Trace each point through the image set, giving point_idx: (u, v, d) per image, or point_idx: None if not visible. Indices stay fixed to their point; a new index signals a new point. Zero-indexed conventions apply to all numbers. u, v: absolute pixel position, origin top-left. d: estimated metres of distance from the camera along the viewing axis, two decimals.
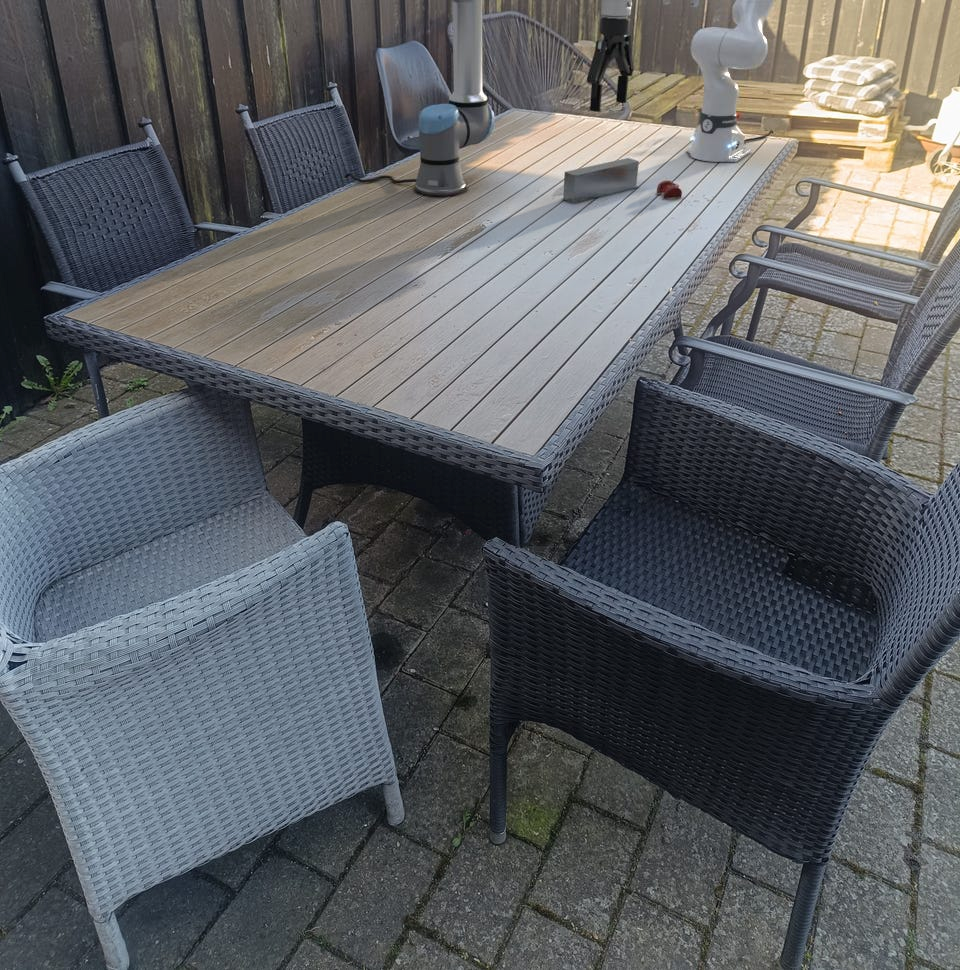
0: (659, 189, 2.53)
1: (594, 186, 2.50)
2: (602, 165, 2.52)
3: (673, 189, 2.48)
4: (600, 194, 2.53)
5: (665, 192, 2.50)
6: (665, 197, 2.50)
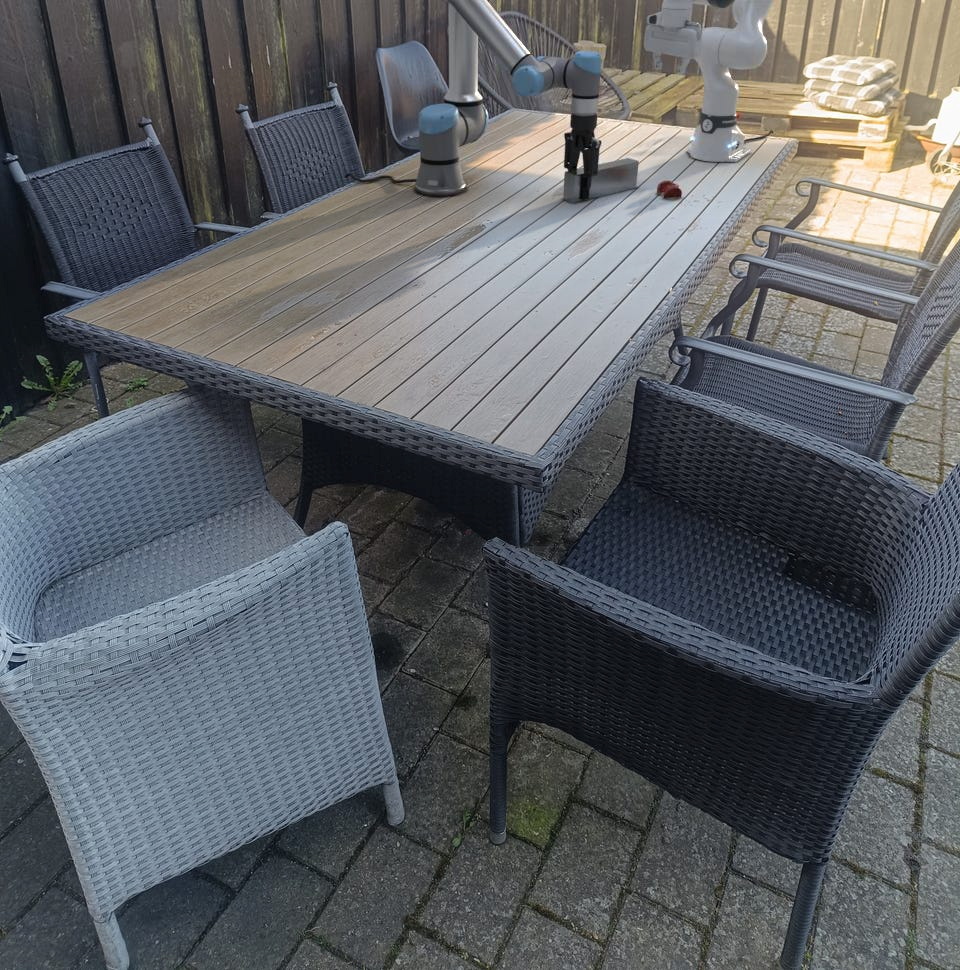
0: (659, 189, 2.53)
1: (594, 186, 2.50)
2: (602, 165, 2.52)
3: (673, 189, 2.48)
4: (600, 194, 2.53)
5: (665, 192, 2.50)
6: (665, 197, 2.50)
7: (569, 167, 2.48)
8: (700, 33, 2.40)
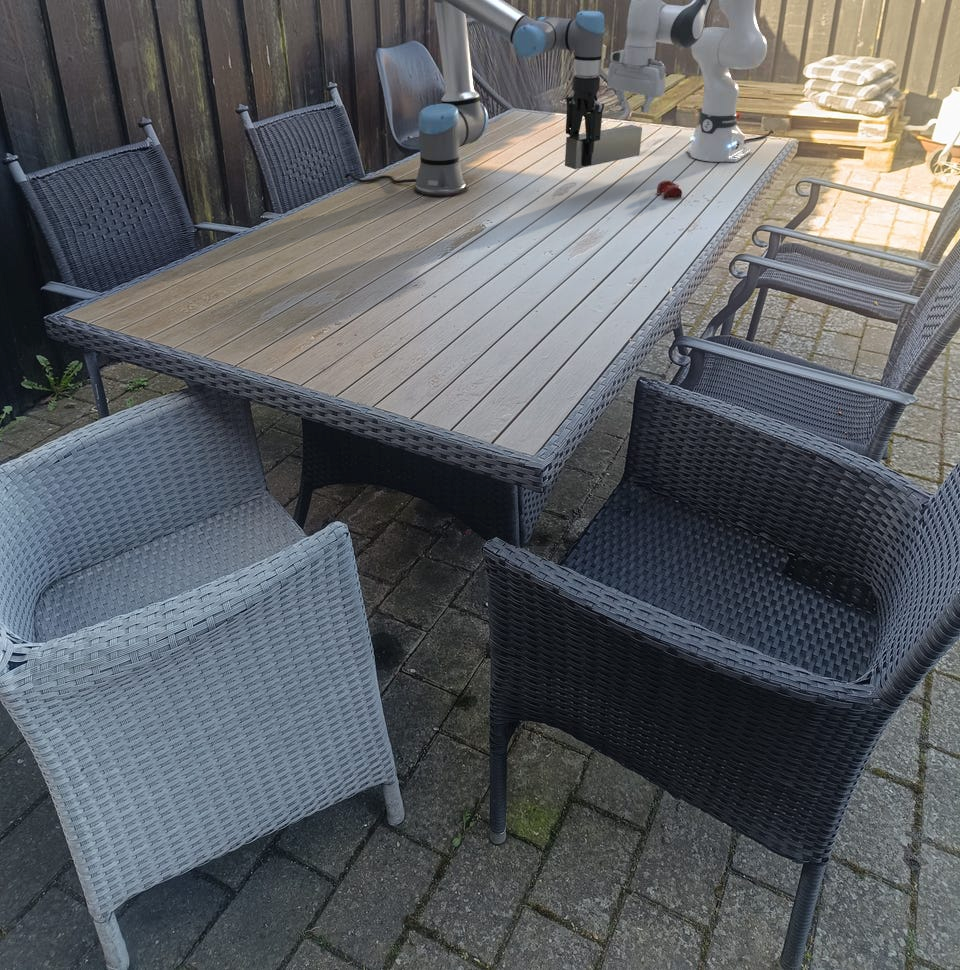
0: (659, 189, 2.53)
1: (596, 152, 2.44)
2: (604, 131, 2.46)
3: (673, 189, 2.48)
4: (602, 161, 2.47)
5: (665, 192, 2.50)
6: (665, 197, 2.50)
7: (571, 132, 2.42)
8: (663, 72, 2.35)
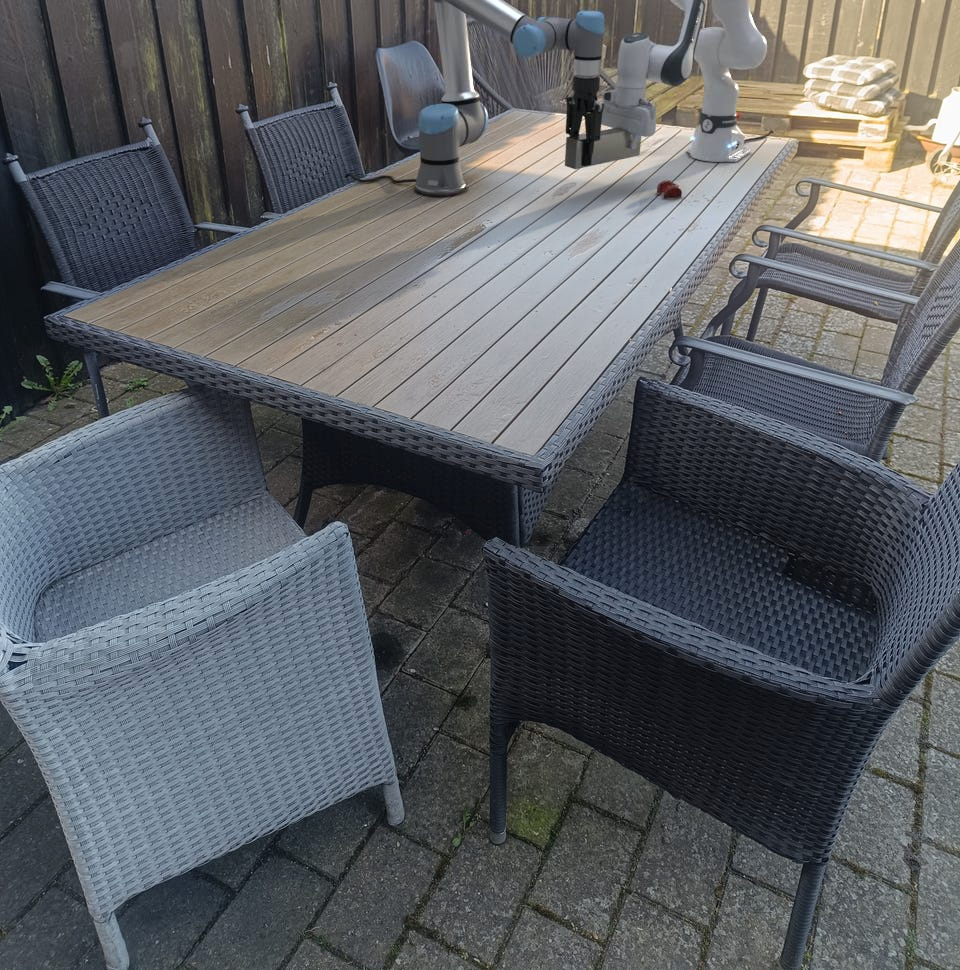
0: (659, 189, 2.53)
1: (596, 153, 2.44)
2: (604, 131, 2.46)
3: (673, 189, 2.48)
4: (603, 161, 2.47)
5: (665, 192, 2.50)
6: (665, 197, 2.50)
7: (571, 132, 2.42)
8: (653, 112, 2.39)
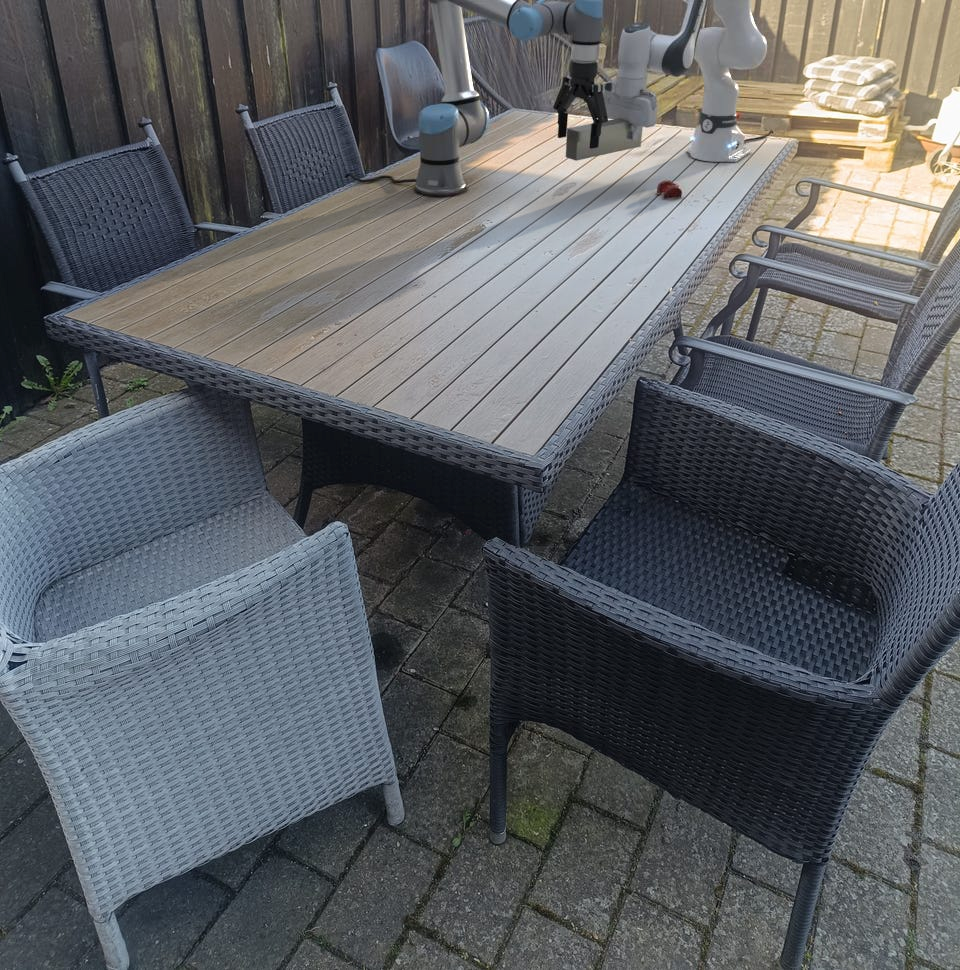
0: (659, 189, 2.53)
1: None
2: (605, 122, 2.45)
3: (673, 189, 2.48)
4: (604, 152, 2.46)
5: (665, 192, 2.50)
6: (665, 197, 2.50)
7: (559, 109, 2.41)
8: (654, 103, 2.38)
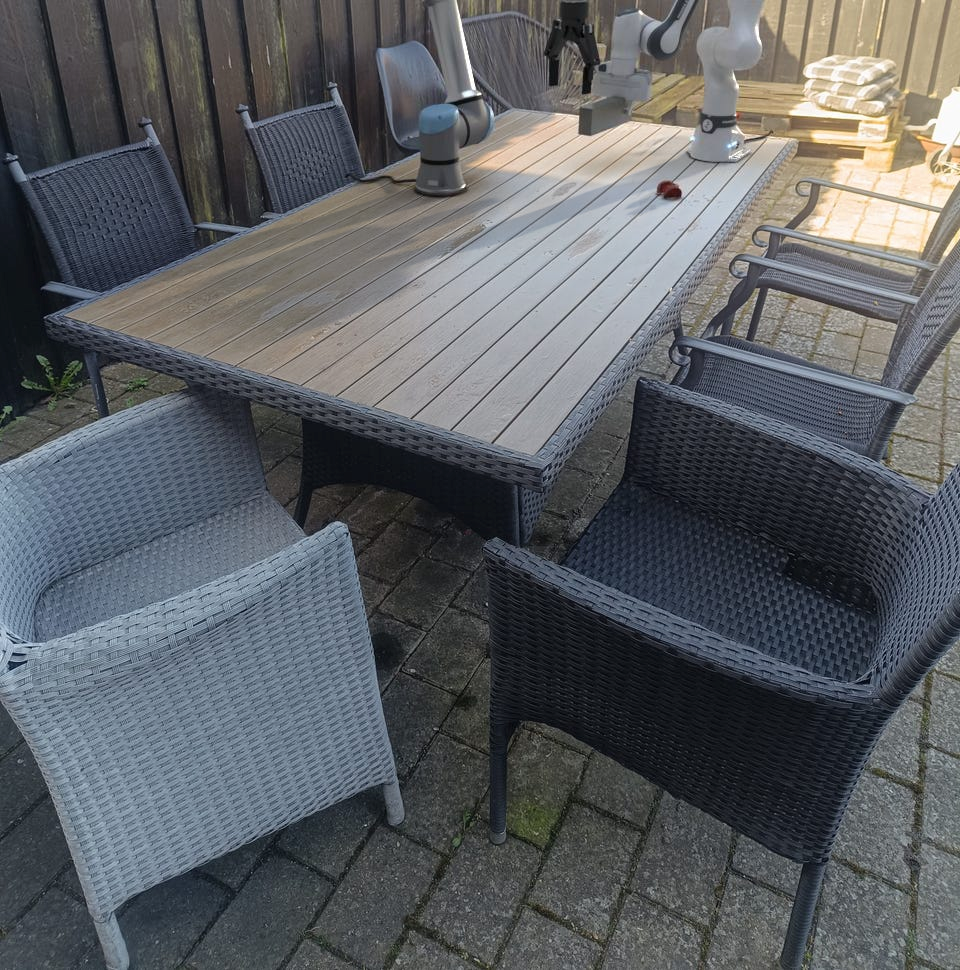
0: (659, 189, 2.53)
1: (604, 120, 2.66)
2: (606, 100, 2.68)
3: (673, 189, 2.48)
4: (608, 127, 2.70)
5: (665, 192, 2.50)
6: (665, 197, 2.50)
7: (550, 55, 2.30)
8: (651, 79, 2.65)
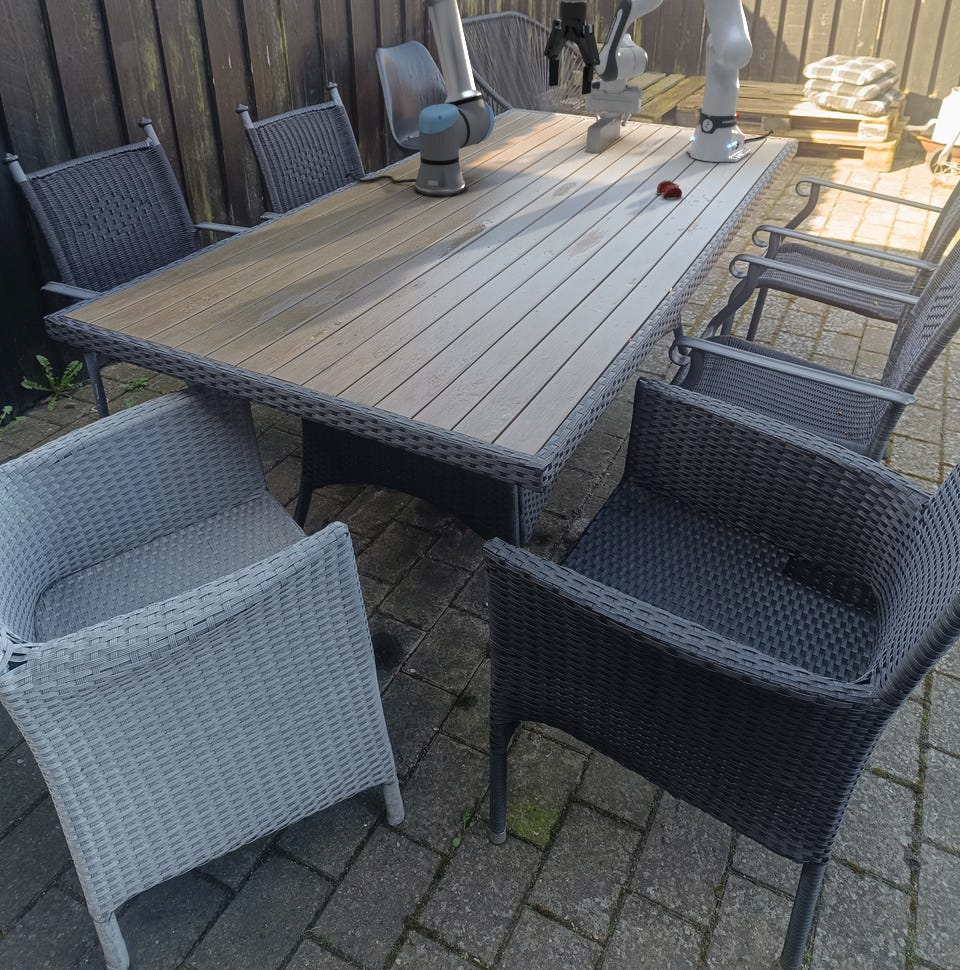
0: (659, 189, 2.53)
1: (606, 137, 2.97)
2: (603, 119, 3.00)
3: (673, 189, 2.48)
4: (607, 144, 3.01)
5: (665, 192, 2.50)
6: (665, 197, 2.50)
7: (550, 55, 2.30)
8: (641, 94, 2.97)
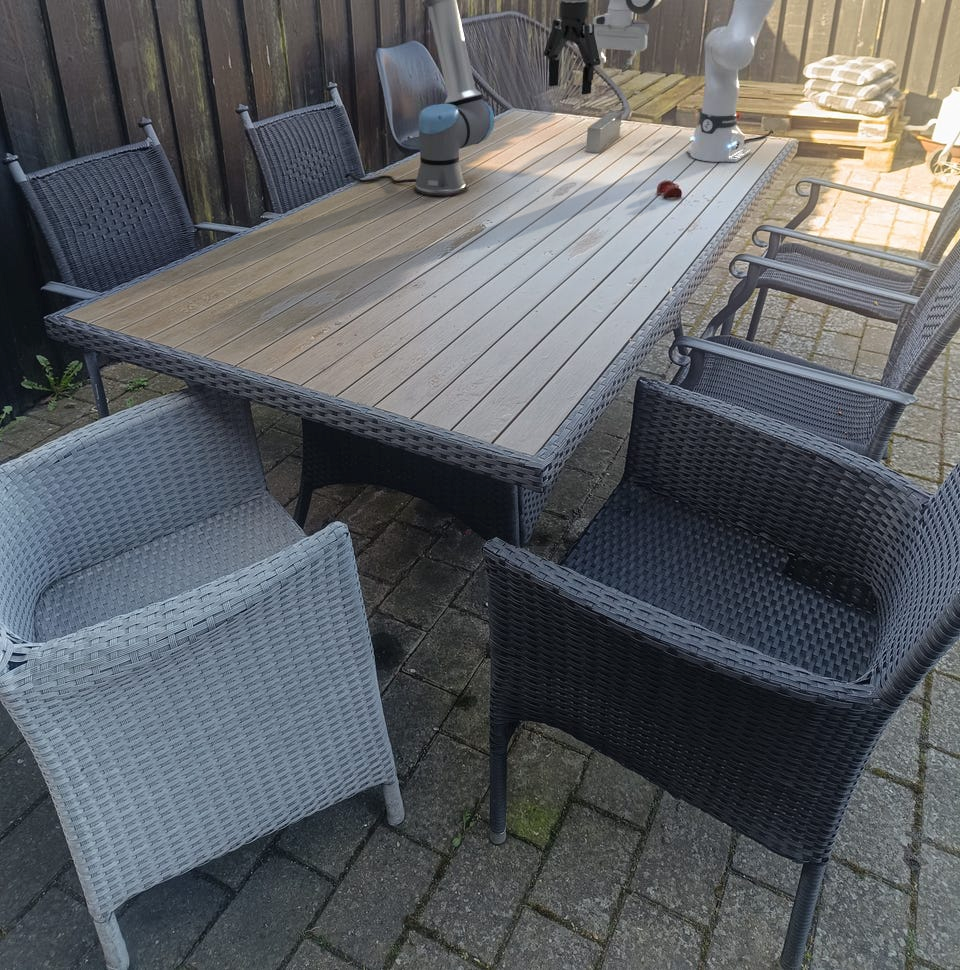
0: (659, 189, 2.53)
1: (606, 137, 2.97)
2: (603, 119, 3.00)
3: (673, 189, 2.48)
4: (607, 144, 3.01)
5: (665, 192, 2.50)
6: (665, 197, 2.50)
7: (550, 55, 2.30)
8: (648, 29, 2.85)
